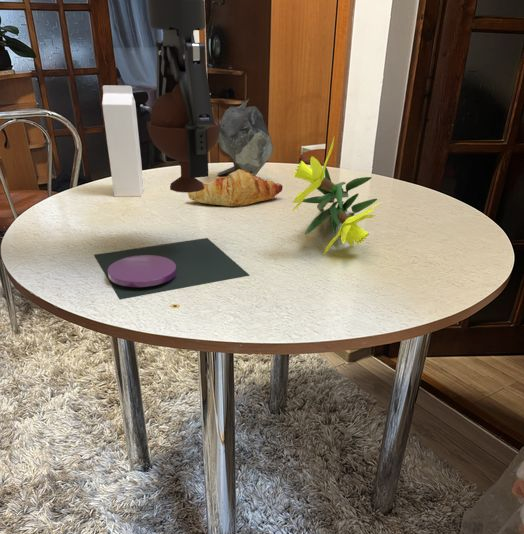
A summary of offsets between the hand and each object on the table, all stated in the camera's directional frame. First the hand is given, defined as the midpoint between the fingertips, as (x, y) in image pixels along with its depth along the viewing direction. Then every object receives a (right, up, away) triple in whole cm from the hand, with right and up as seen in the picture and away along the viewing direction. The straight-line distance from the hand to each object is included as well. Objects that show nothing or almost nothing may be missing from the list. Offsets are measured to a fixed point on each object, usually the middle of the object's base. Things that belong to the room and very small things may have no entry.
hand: (185, 168), depth 79 cm
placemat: (-3, -15, +3) cm, 16 cm away
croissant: (+6, +5, +35) cm, 36 cm away
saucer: (-6, -17, -2) cm, 18 cm away
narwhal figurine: (+7, +14, +50) cm, 52 cm away
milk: (-19, +8, +38) cm, 43 cm away
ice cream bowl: (0, -3, +2) cm, 3 cm away
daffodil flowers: (+24, -7, +17) cm, 31 cm away
